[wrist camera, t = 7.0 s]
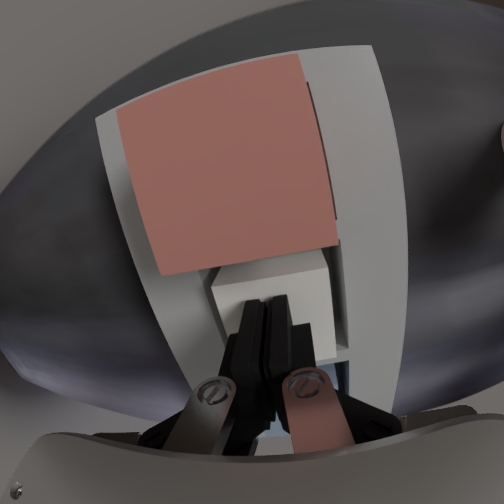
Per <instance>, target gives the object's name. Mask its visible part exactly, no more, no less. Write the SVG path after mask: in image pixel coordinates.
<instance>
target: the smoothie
mask: <svg viewBox="0 0 504 504" xmlns="http://www.w3.org/2000/svg"><path fill="white" fill-rule="evenodd" d="M501 142H502V148H503V151H504V124H503V126H502V131H501Z"/></svg>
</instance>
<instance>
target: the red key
mask: <svg viewBox="0 0 504 504" xmlns="http://www.w3.org/2000/svg"><path fill="white" fill-rule="evenodd" d="M116 115H117V120H118V125H119V130H120V135H121V139H122V144H123V148H124V153H125V157H126V161H127V165H128V169H129V173H130V177H131V181H132V185H133V188H134V192H135V196H136V199H137V203H138V206H139V210H140V213H141V216H142V220H143V223H144V226H145V229H146V233H147V236H148V239H149V242H150V245H151V248H152V251H153V254H154V257H155V260H156V263H157V265H158V268H159V271H160V274H161V276H166V275H172V274H177V273H183V272H189V271H195V270H201V269H206V268H212V267H218V266H224V265H229V264H235V263H241V262H246V261H252V260H258V259H263V258H269V257H274V256H280V255H285V254H291V253H296V252H302V251H307V250H313V249H318V248H324V247H329V246H335V245H339V242H338V235H337V228H336V221H335V214H334V208H333V201H332V195H331V190H330V184H329V179H328V173H327V168H326V163H325V158H324V153H323V148H322V144H321V139H320V135H319V130H318V126H317V122H316V118H315V114H314V110H313V106H312V102H311V98H310V94H309V90H308V87H307V83H306V80H305V76H304V73H303V69H302V66H301V63H300V60H299V56H298V53H296V54H289V55H283V56H277V57H272V58H266V59H261V60H257V61H252V62H248V63H243V64H239V65H235V66H231V67H228V68H224V69H220V70H217V71H213V72H210V73H207V74H204V75H200V76H197V77H194V78H191V79H188V80H186V81H183V82H180V83H177V84H174V85H172V86H169V87H167V88H164V89H161V90H159V91H156V92H154V93H152V94H149V95H147V96H145V97H142V98H140V99H138V100H136V101H133V102H131V103H129V104H127V105H125V106H123V107H121V108H119V109H117V110H116Z"/></svg>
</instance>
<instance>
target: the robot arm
mask: <svg viewBox="0 0 504 504" xmlns="http://www.w3.org/2000/svg"><path fill="white" fill-rule="evenodd" d="M276 412H277V415H278V419H279V421H280V422H281V425H282V429H283V430H284V431H285V432H287V433H288V434H290V435H291V439H292V444H293V449H294V454H286V455H285V454H284V455H268V456H254V454H255V451H256V448H257V445H258V436H259V435H260V434H261V433H263V432H264V431H265V430H270V425H271V422H275V421H276ZM0 504H504V415H502V414H492V413H491V414H489V413H487V414H477V412H476V411H475V410H474V409H473V408H472V407H470V406H467V405H458V406H454V407H448V408H443V409H437V410H431V411H424V412H417V413H408V414H406V417H398V418H397V417H396V416H394V415H392V414H391V413H388V412H386V411H383V410H381V409H379V408H376V407H374V406H372V405H369V404H367V403H365V402H362V401H360V400H358V399H356V398H354V397H351V396H349V395H347V394H345V393H343V392H341V391H338V390H336V389H334V387H333V384H332V382H331V379H330V377H329V376H328V374H327V373H326V372H325V371H323V370H322V369H319V368H316V361H315V353H314V346H313V339H312V332H311V325H310V323H304V324H298V325H293V322H292V317H291V312H290V307H289V302H288V296H287V294H285V295H279V296H273V300H270V301H268V311H267V306H266V303H265V301H264V302H261V301H260V299H254V300H247V301H245V305H244V309H243V313H242V318H241V322H240V326H239V331H238V333H233V334H230V335H229V337H228V341H227V344H226V348H225V352H224V355H223V359H222V362H221V366H220V370H219V373H218V376H217V377H211V378H208V379H206V380H204V381H202V382H201V383H200V384H198V385H197V387H196V388H195V389H194V391H193V393H192V395H191V396H190V398H189V400H188V402H187V404H186V406H185V408H184V409H183V410H182V411H180V412H178V413H177V414H175V415H173V416H171V417H170V418H168V419H166V420H164V421H163V422H161V423H159V424H157V425H155V426H154V427H152V428H150V429H148V430H147V431H145V432H144V433H143V434H142V435H141V434H140V433H139V432H129V433H128V432H127V433H96V434H94V435H86V434H79V433H70V432H59V433H50V434H46V435H43V436H41V437H39V438H38V439H37V440H36V441H35V442H34V443H33V444H32V446H31V447H30V448H29V450H28V451H27V452H26V454H25V455H24V457H23V458H22V460H21V461H20V463H19V465H18V466H17V468H16V470H15V472H14V473H13V475H12V477H11V479H10V481H9V482H8V484H7V486H6V488H5V490H4V492H3V494H2V497H1V499H0Z"/></svg>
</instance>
